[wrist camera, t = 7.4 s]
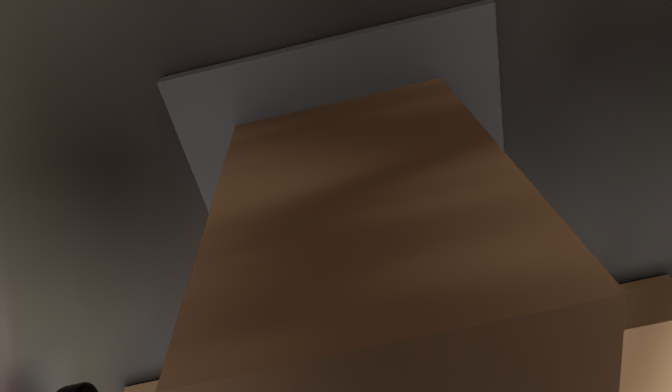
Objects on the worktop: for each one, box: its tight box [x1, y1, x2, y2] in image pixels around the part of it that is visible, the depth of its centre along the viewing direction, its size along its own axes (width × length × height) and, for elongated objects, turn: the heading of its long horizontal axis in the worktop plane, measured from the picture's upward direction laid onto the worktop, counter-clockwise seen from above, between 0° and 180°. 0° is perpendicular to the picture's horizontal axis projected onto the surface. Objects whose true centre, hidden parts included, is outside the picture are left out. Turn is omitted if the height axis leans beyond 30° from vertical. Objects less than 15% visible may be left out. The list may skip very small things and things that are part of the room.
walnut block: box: [155, 78, 627, 392], centre depth 9 cm, size 4×4×7 cm
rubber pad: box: [157, 0, 504, 212], centre depth 12 cm, size 7×7×1 cm
